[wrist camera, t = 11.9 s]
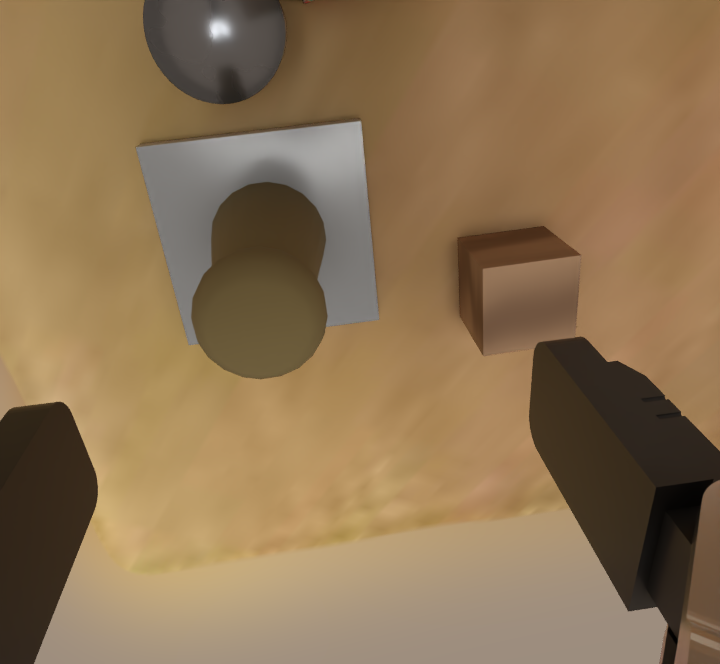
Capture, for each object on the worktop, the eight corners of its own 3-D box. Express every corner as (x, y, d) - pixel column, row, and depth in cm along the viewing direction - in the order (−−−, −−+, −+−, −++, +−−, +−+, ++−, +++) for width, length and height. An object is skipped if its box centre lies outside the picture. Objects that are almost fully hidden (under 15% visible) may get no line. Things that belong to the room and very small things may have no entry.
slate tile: (140, 143, 29) (135, 147, 28) (359, 118, 29) (361, 120, 29) (191, 337, 34) (188, 345, 33) (376, 312, 35) (379, 319, 34)
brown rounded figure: (325, 291, 32) (339, 402, 23) (215, 291, 32) (181, 405, 22) (326, 182, 30) (343, 255, 20) (206, 180, 29) (162, 255, 19)
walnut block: (457, 237, 33) (482, 268, 29) (543, 225, 33) (581, 255, 29) (459, 315, 35) (483, 356, 31) (539, 304, 36) (574, 342, 31)
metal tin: (165, -27, 26) (125, -45, 20) (277, -39, 26) (272, -60, 20) (191, 94, 28) (163, 111, 22) (294, 82, 28) (294, 96, 22)
